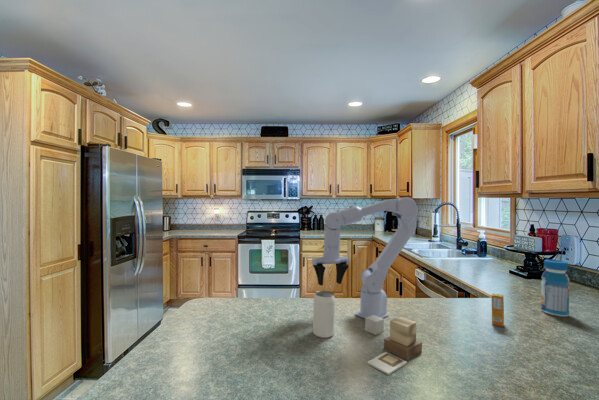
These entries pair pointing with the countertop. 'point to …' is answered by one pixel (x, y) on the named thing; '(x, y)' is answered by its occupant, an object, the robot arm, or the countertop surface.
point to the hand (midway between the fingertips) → (329, 283)
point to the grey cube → (374, 324)
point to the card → (387, 363)
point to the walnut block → (403, 348)
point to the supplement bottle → (555, 288)
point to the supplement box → (497, 310)
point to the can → (324, 314)
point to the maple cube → (403, 331)
